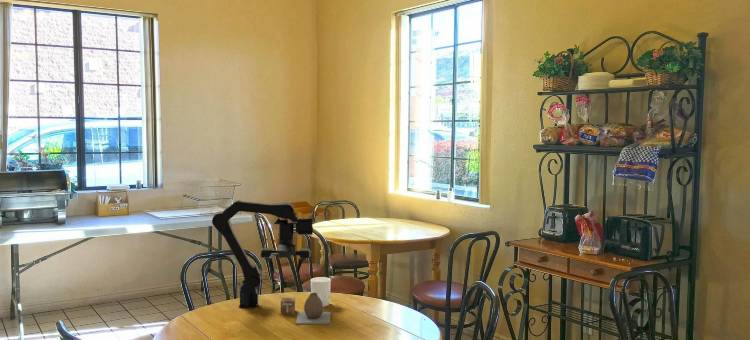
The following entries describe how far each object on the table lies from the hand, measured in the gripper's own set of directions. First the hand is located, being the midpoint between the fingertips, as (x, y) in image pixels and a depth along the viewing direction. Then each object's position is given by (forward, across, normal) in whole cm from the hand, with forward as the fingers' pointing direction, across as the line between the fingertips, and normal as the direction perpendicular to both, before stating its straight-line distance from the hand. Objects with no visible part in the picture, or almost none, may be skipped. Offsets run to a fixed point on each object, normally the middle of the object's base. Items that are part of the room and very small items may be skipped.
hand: (285, 274), depth 246 cm
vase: (+11, +12, -18) cm, 25 cm away
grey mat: (+12, +12, -18) cm, 25 cm away
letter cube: (+12, +2, -10) cm, 16 cm away
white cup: (+12, +14, 0) cm, 18 cm away
